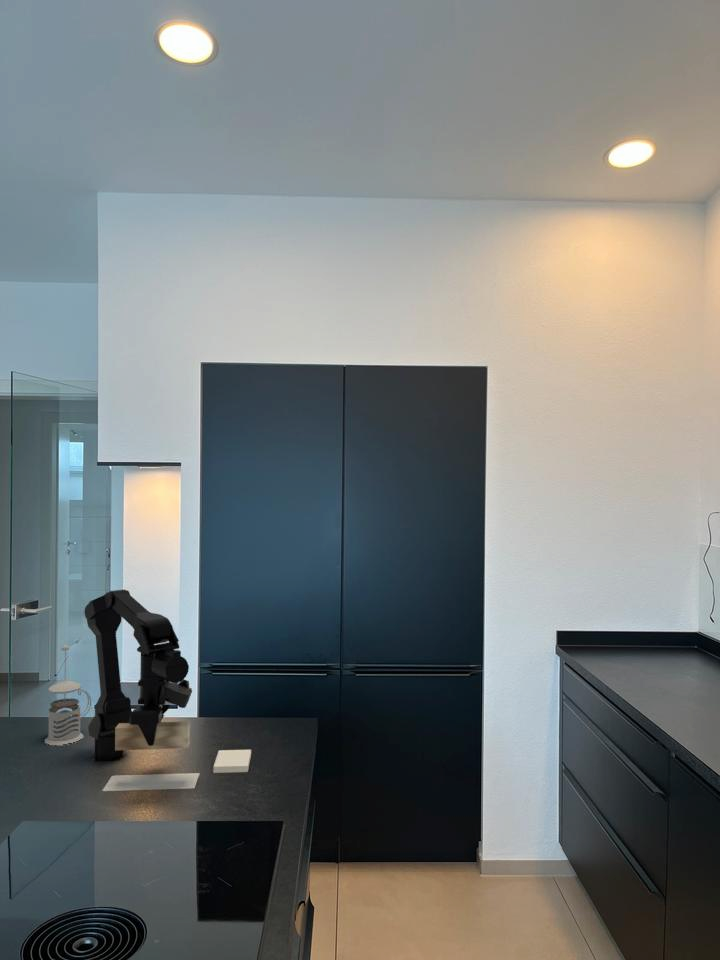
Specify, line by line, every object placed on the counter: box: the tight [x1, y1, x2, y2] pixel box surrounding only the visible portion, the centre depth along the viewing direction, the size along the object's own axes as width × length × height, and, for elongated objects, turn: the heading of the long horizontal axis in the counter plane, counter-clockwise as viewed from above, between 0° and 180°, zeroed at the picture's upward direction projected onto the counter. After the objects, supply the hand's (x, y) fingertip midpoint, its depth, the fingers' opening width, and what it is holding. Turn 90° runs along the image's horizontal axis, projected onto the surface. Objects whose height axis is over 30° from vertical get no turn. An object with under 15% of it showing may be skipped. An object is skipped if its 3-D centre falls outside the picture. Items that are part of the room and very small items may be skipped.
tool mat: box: [101, 772, 200, 792], centre depth 154 cm, size 20×8×1 cm, turn 95°
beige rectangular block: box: [115, 720, 191, 751], centre depth 155 cm, size 16×3×5 cm, turn 95°
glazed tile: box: [213, 749, 252, 774], centre depth 165 cm, size 2×10×8 cm
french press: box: [43, 644, 92, 746], centre depth 183 cm, size 10×12×25 cm
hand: (152, 742), depth 155 cm, fingers closed on beige rectangular block, 3 cm apart
